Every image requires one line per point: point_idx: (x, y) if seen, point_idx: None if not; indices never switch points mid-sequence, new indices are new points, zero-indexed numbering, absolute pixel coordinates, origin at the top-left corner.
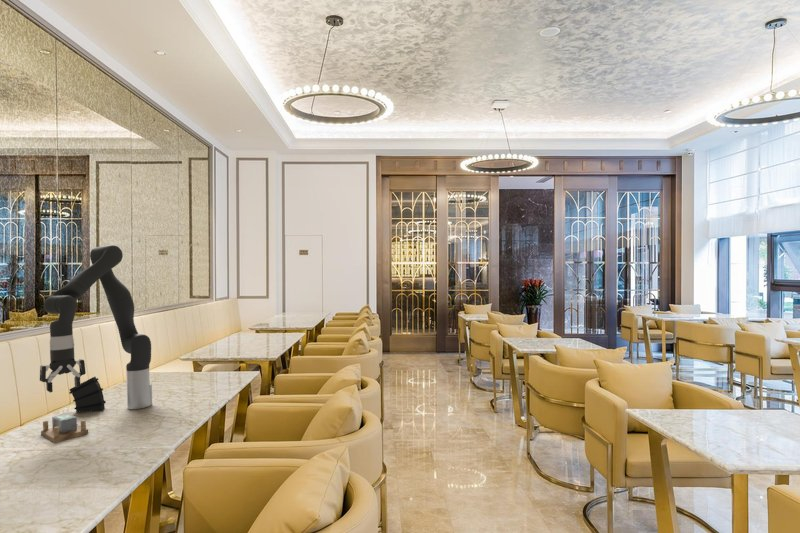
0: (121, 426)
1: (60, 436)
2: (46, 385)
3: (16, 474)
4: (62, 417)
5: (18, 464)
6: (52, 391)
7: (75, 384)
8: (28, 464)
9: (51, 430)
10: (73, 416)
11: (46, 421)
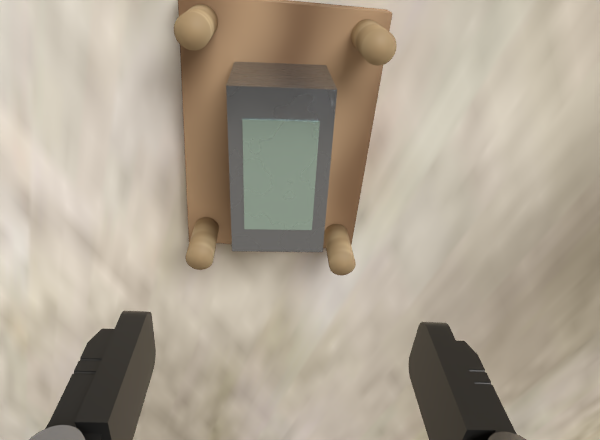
0: (484, 265)
1: (220, 239)
2: (65, 396)
3: (25, 432)
4: (265, 183)
5: (33, 363)
6: (153, 365)
7: (424, 361)
8: (63, 386)
9: (226, 66)
10: (320, 218)
11: (195, 46)
